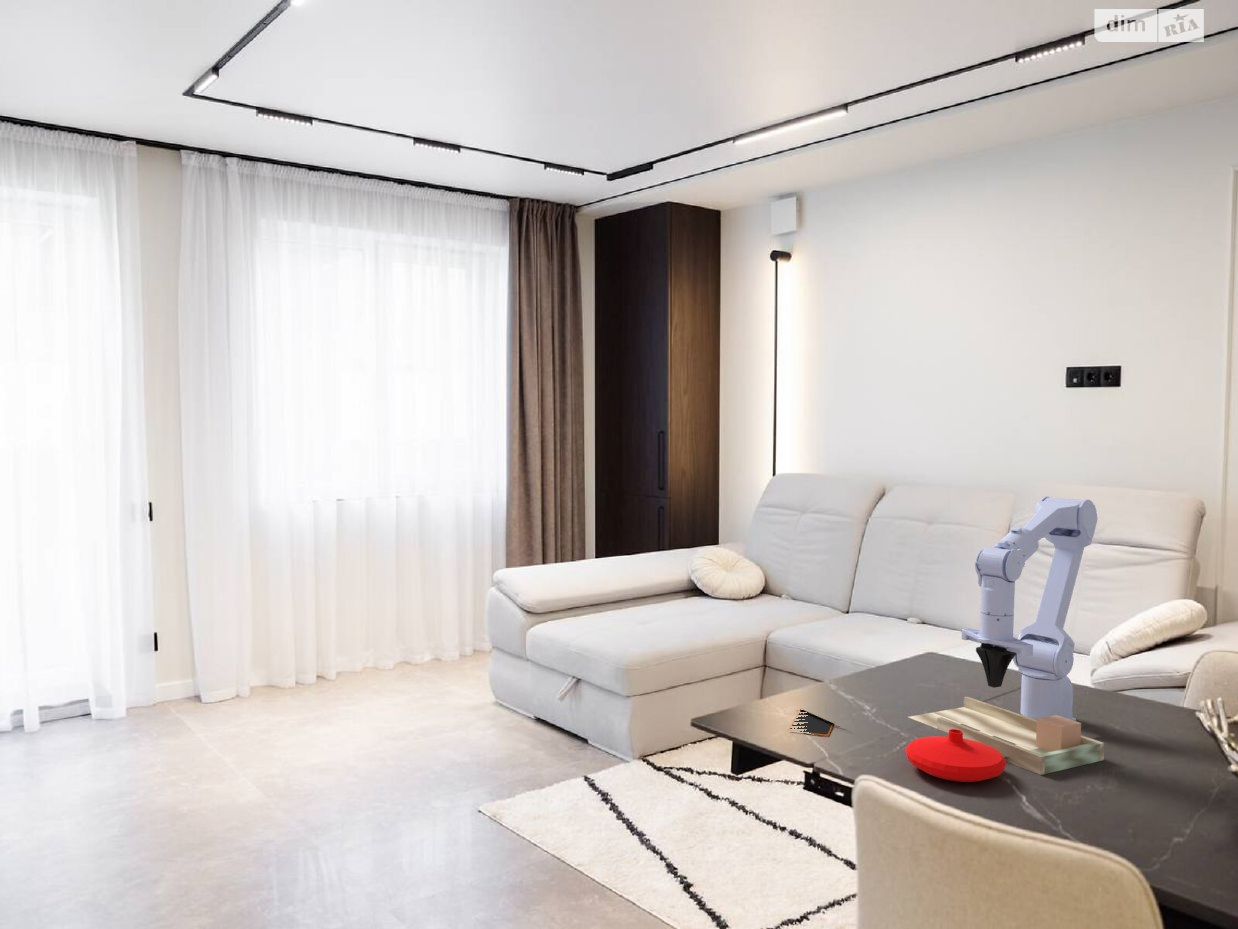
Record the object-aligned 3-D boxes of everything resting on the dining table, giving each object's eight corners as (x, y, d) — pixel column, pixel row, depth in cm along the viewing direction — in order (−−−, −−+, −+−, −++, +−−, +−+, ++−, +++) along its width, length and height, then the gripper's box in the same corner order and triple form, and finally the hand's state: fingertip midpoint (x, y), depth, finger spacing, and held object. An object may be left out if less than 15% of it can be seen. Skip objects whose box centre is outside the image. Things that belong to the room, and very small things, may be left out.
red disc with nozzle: (996, 800, 145) (997, 755, 144) (893, 778, 153) (894, 735, 153) (1013, 768, 158) (1014, 727, 158) (918, 750, 166) (919, 710, 166)
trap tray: (967, 711, 189) (967, 696, 189) (1103, 760, 162) (1104, 743, 162) (907, 722, 181) (907, 706, 181) (1040, 775, 155) (1040, 757, 155)
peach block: (1055, 742, 168) (1056, 715, 168) (1080, 751, 163) (1081, 723, 163) (1035, 746, 166) (1036, 718, 165) (1060, 755, 161) (1061, 727, 161)
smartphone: (787, 734, 175) (787, 729, 175) (802, 709, 190) (802, 704, 190) (828, 739, 172) (829, 734, 172) (840, 713, 188) (840, 709, 188)
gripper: (950, 607, 177) (948, 678, 178) (1014, 622, 164) (1012, 699, 165) (977, 604, 181) (975, 674, 181) (1042, 619, 168) (1039, 694, 168)
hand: (994, 686), depth 173 cm, fingers closed
